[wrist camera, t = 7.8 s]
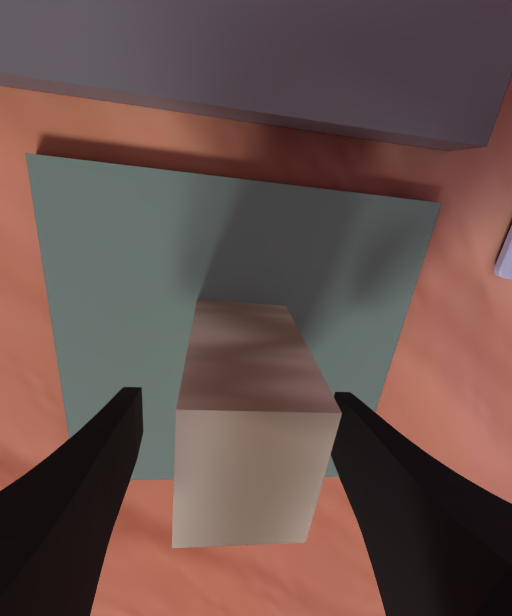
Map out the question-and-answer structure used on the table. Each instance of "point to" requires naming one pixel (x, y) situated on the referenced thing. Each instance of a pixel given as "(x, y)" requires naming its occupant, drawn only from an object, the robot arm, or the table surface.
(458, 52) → the pocket plate
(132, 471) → the robot arm
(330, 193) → the rubber mat
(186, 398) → the birch block
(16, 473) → the table surface
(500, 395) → the table surface
